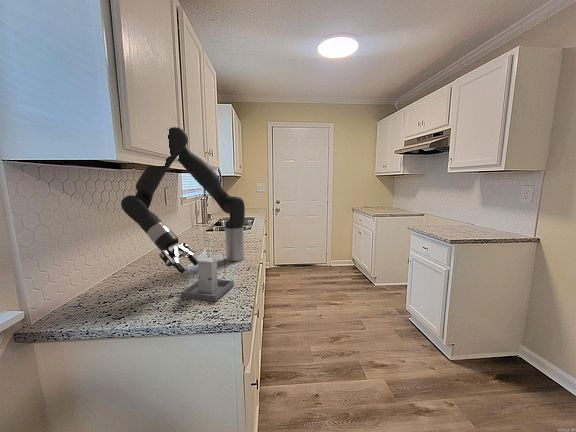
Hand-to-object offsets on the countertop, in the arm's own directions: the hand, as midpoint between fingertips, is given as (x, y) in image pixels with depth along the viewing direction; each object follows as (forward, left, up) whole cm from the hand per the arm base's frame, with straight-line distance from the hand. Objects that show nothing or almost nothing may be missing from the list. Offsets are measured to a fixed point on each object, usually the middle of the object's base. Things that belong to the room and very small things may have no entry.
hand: (190, 267), depth 100 cm
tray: (0, +7, -9) cm, 12 cm away
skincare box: (0, +7, -9) cm, 11 cm away
